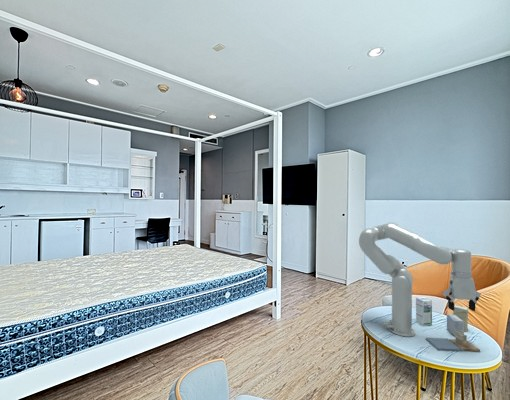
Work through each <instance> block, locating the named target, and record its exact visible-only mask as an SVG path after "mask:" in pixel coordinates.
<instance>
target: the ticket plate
mask: <svg viewBox="0 0 510 400" xmlns="http://www.w3.org/2000/svg"><path fill="white" fill-rule="evenodd" d="M449 339H450V338H443V337H442V338H441V337H425V341H427V342H428V344H430V345H431V346H432V347H433V348H434V349H436V350H437V351H438V352H442V351H443V352H444V351H445V352H459V353H462V352H463V351H462V349H461V348H460V347H458V346H457V345H456V344H454V343H453V342H452V341H450V340H449Z"/></svg>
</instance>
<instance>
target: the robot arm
mask: <svg viewBox="0 0 510 400" xmlns="http://www.w3.org/2000/svg"><path fill="white" fill-rule="evenodd" d="M385 239H390V240H392V241H393V242H396V243H398V244H400V245H402V246H404V247H406V248H408V249H410V250H412V251H413V252H415V253H417V254H419V255H421V256H423V257H425V258H427V259H429V260H431V261H432V262H434V263H436V264H439V265H448V264H450V263H451V271H450V272H449V275H450V279H449V281H448V283H449V284H448V288H447V289H446V290H444V291H442V294H443V296H444V298H445V299H446V300H447V307H448V309H450V310H451V311H452V312H453V311H454V305H455V302H454V301H455V300H465V301H466V300H468V310H470V311H472V312H476V304H477V303H478V302H477V301H479V300H480V297H481V295H482V293H480V292H478V291H476V286H475V285H476V284H475V280H474V277H473V278H472V252H471V251H470V250H468V249H464V248H449V247H444V246H437V245H435V244H433V243H431V242H429V241H428V240H426V239H424V238H423V237H422V236H420V235H419V234H417V233H415V232H413V231H410V230H408V229H406V228H404V227H402V226H400V225H399V224H398V223H395V222H387V223H384V224H381V225H376V226H372V227H368V228H365V229H363V230H362V231H361V233H360V235H359V238H358V245H359V247H360V249H361V251H362V252H363V254H364V255H365V256H366V257H367V258H368V259H369V260H370V261H371V262H372V264H374V265H375V267H377V269H378V270H379V271H380V272H381V273H383V274H384V275H389V277H391V285H390V286H391V319H390V320H389V321H388V322H387V321H386V322H385V321H383V322H381V324H382V326H383V327H386V328H388V330H389V331H390V332H391V333H393V334H394V335H397V336H401V337H406V338H407V337H410V338H412V337H414V336H415V335H416V331H415V330H414V329H413V326H412V325H413V322H412V321H413V319H412V318H413V297H412V296H413V281H414V278H413V275H412V273H411V272H410V271H409V270H408V269H407V268H406V267H405V266H404V265H403V264H402V263H401V262H400V261H399V260H398V259H397V258H396V257H395V256H393V255H390V254H386V253H385V252H384V250H383V249H381V248H380V247H379V246H378V245H377V244H376V241H382V240H385Z"/></svg>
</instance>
